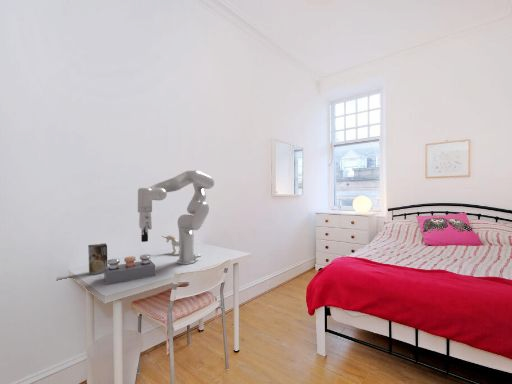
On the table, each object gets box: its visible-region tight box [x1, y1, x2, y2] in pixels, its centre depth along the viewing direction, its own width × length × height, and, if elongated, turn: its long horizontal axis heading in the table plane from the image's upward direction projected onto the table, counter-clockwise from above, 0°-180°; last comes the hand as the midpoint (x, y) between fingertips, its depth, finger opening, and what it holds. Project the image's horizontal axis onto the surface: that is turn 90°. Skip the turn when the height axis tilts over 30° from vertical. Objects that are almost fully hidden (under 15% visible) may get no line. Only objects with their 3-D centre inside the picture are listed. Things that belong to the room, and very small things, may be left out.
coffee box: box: [87, 242, 109, 276], centre depth 152 cm, size 9×6×16 cm
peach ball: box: [124, 256, 137, 268], centre depth 145 cm, size 6×6×6 cm
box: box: [103, 259, 156, 285], centre depth 145 cm, size 24×12×6 cm, turn 125°
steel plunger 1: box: [107, 258, 121, 270], centre depth 141 cm, size 6×6×6 cm
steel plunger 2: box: [139, 254, 151, 265], centre depth 150 cm, size 6×6×6 cm
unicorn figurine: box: [161, 234, 179, 254], centre depth 195 cm, size 7×20×13 cm, turn 87°
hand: (144, 241), depth 149 cm, fingers closed
